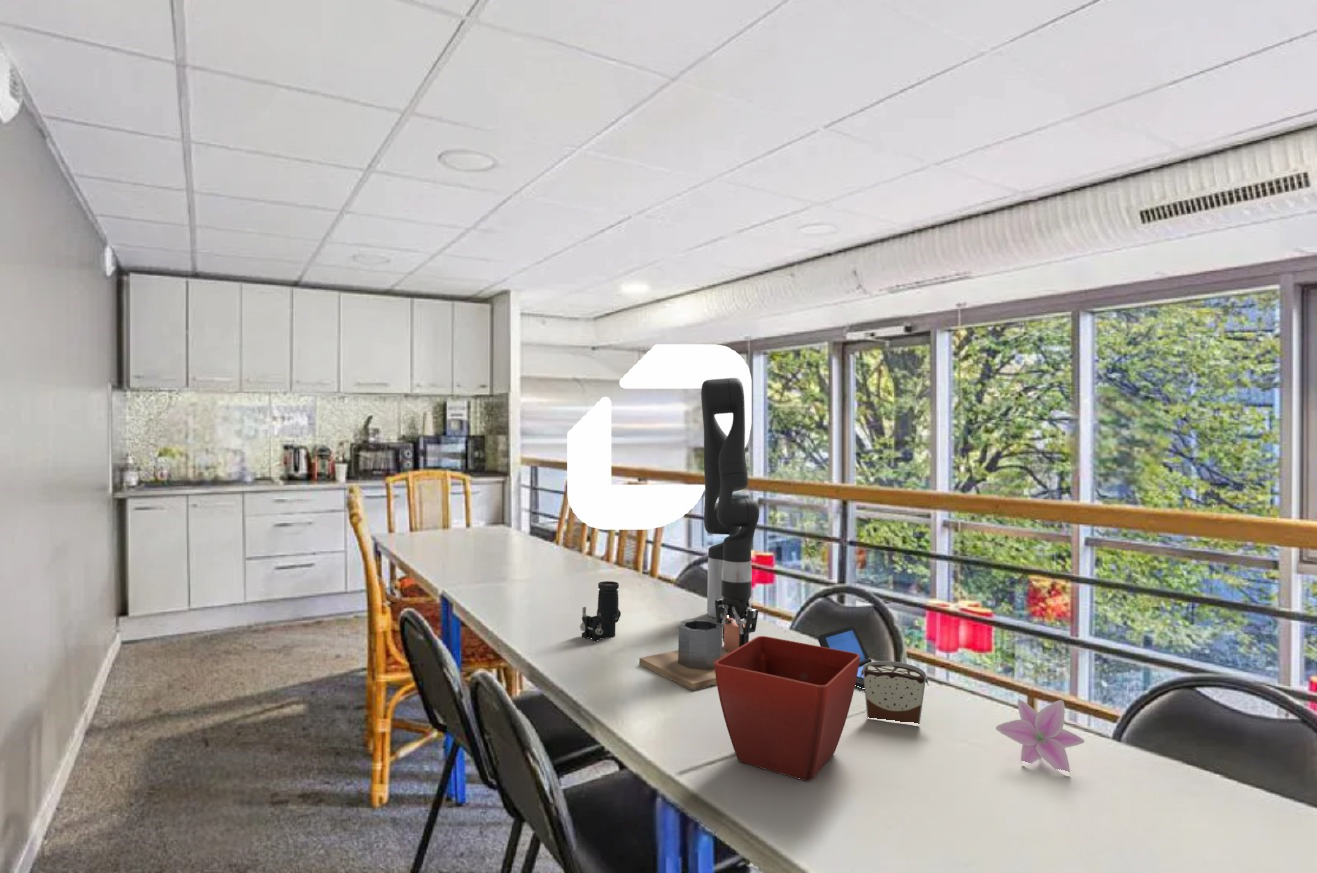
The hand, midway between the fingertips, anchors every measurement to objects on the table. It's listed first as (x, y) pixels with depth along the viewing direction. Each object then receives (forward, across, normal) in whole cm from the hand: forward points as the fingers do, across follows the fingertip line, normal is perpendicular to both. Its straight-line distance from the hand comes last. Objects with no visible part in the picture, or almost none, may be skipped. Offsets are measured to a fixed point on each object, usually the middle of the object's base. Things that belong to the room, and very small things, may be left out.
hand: (735, 645), depth 180 cm
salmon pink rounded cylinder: (+1, 0, 0) cm, 1 cm away
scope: (+1, +27, +22) cm, 35 cm away
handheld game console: (+2, -30, -11) cm, 32 cm away
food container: (+1, -49, +3) cm, 49 cm away
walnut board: (+1, -7, +17) cm, 18 cm away
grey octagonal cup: (-1, -7, +17) cm, 18 cm away
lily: (+1, -74, -2) cm, 75 cm away
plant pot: (+1, -50, +33) cm, 60 cm away
